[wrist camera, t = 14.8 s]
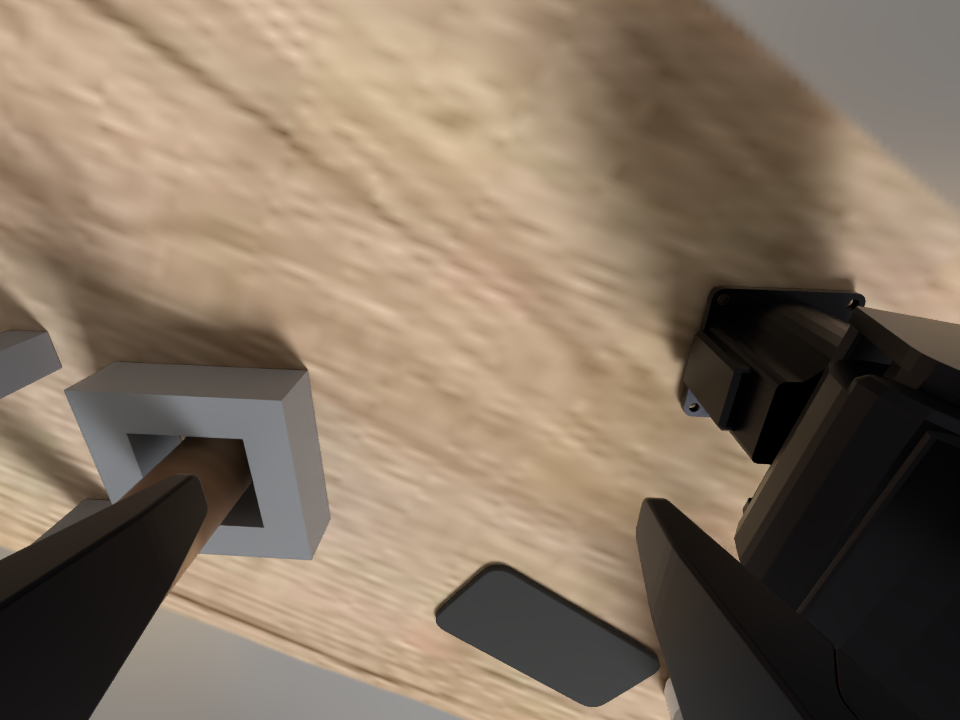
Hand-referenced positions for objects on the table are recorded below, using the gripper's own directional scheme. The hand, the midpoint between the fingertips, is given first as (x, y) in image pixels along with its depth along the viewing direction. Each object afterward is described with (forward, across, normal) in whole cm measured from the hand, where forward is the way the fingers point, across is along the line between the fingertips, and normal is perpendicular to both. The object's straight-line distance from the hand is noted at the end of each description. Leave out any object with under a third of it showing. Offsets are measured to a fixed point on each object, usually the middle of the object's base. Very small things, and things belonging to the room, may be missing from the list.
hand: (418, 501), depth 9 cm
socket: (+13, +13, +9) cm, 20 cm away
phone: (+14, -6, +24) cm, 28 cm away
